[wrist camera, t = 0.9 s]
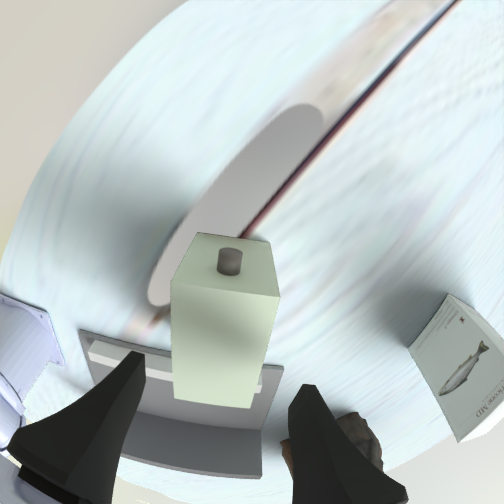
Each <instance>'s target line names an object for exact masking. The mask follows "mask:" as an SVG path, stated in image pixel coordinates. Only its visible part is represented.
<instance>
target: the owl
mask: <svg viewBox="0 0 504 504" xmlns="http://www.w3.org/2000/svg"><path fill="white" fill-rule="evenodd" d="M336 421H337V422H338V424H339V426H340V427H341V428H342V430H343V431H344V433H345V434H346V435H347V437H348V438H349V439H350V441H351V442H352V443H353V444H354V445H355V447H356V448H357V449H358V450H359V451H360V452H361V453H362V454H363V455H364V456H365V457H366V458H367V459H368V460H369V461H370V462H371V463H372V464H373V465H375V466H376V467H377V468H378V469H379V470H380V471H382V472H383V461H382V460H381V456H382V450H381V447H380V443H379V440H378V439H377V438H376V436H375V435H374V433H373V432H372V430H371V429H370V428H369V427H368V425H367V422H366V419H363V418H361V417H360V416H359V414H358V412H353V413H350V414H347V415H345V416H343V417H340V418H339V419H337V420H336ZM280 443H281V445H282V448H283V449H282V456H283V458H284V459H285V462H286V464H287V466H288V468H289V471H290V474H291V476H292V479H293V461H292V453H291V445H290V439H287V440H284V441H282V442H280ZM383 473H384V472H383Z"/></svg>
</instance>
